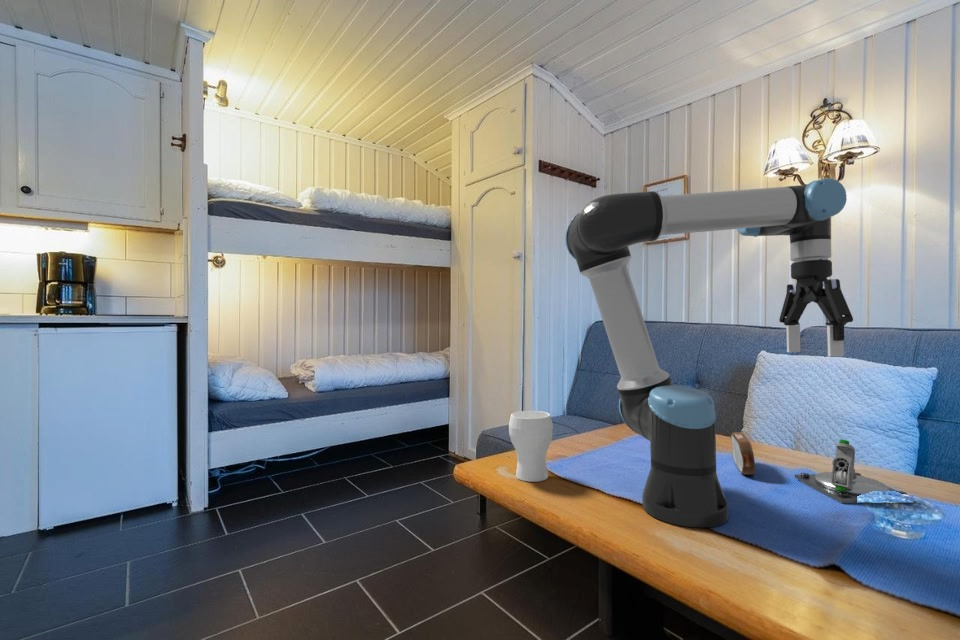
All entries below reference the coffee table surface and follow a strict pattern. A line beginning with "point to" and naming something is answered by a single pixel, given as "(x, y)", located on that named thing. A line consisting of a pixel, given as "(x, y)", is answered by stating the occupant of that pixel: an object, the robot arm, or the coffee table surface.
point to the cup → (531, 443)
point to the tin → (743, 453)
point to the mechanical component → (843, 466)
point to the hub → (850, 495)
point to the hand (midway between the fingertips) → (813, 354)
